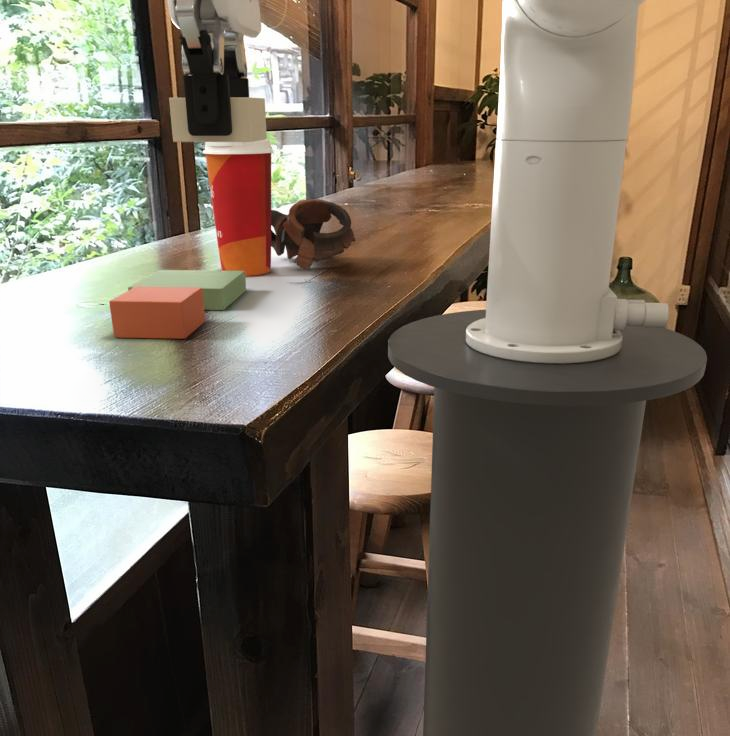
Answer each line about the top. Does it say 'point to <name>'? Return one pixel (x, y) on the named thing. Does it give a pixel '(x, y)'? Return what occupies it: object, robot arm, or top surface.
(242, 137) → the cream rectangular block
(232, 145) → the paper cup
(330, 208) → the brown coiled band
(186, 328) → the orange rectangular block
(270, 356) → the top surface
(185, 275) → the sage green pad
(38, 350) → the top surface
